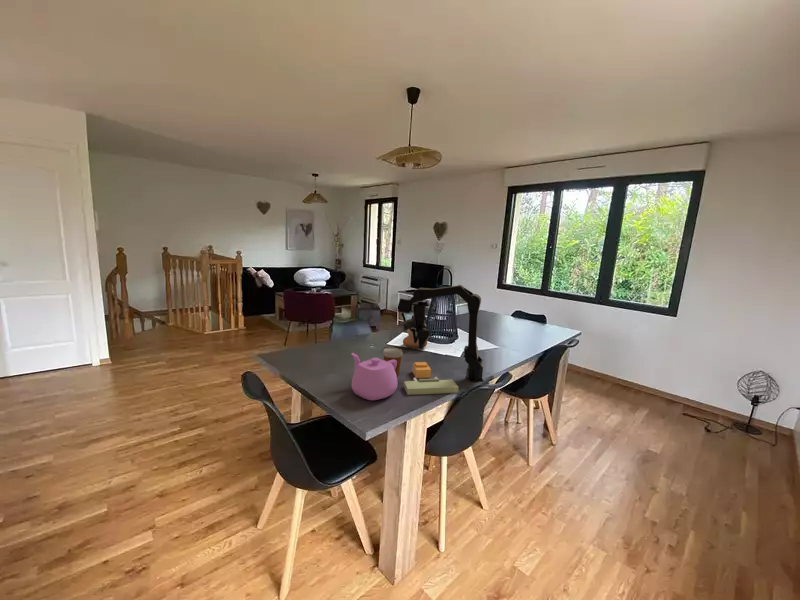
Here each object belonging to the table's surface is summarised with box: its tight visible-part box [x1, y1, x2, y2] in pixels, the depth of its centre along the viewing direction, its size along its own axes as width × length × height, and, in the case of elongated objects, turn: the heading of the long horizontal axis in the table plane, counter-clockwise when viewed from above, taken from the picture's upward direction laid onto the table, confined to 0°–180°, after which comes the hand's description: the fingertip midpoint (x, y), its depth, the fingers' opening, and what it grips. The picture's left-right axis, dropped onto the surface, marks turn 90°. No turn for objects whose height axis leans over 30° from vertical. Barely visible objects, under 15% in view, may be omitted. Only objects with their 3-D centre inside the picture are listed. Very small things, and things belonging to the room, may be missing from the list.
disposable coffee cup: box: [382, 347, 404, 377], centre depth 169 cm, size 10×10×12 cm
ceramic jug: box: [402, 323, 430, 350], centre depth 213 cm, size 18×14×14 cm
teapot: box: [351, 352, 398, 401], centre depth 151 cm, size 23×21×15 cm
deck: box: [403, 376, 460, 396], centre depth 157 cm, size 22×14×3 cm, turn 100°
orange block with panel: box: [411, 361, 432, 379], centre depth 171 cm, size 7×8×5 cm
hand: (417, 345), depth 175 cm, fingers open, 9 cm apart
